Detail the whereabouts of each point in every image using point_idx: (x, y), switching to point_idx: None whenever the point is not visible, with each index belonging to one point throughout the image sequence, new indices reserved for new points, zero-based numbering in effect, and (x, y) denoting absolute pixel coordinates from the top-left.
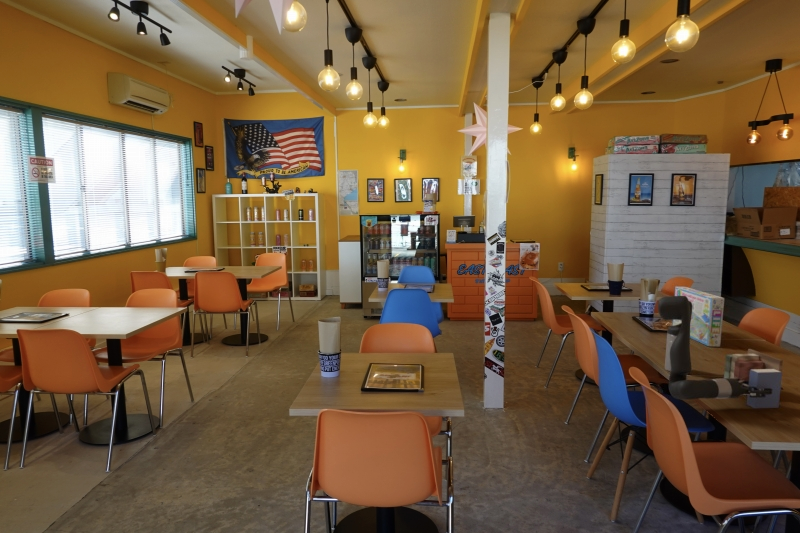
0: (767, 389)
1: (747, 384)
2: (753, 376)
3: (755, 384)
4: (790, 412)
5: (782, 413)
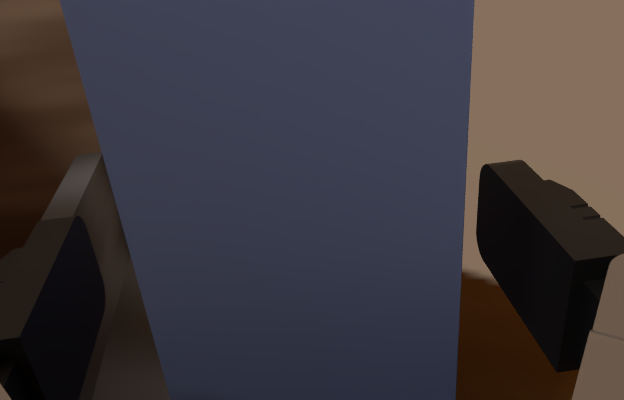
0: (564, 213)
1: (58, 378)
2: (281, 82)
3: (409, 275)
4: (481, 291)
5: (547, 364)
